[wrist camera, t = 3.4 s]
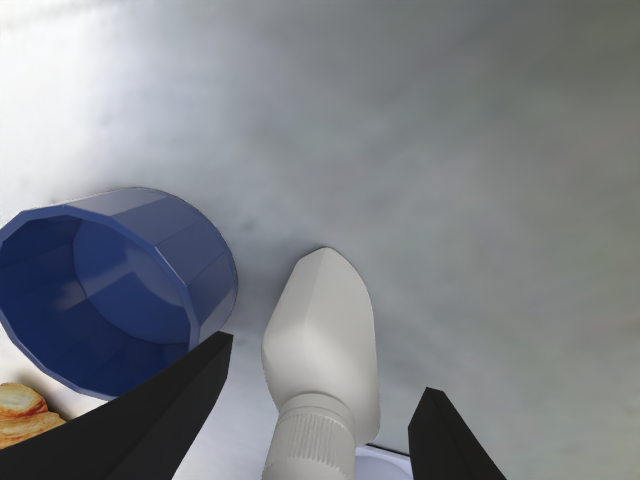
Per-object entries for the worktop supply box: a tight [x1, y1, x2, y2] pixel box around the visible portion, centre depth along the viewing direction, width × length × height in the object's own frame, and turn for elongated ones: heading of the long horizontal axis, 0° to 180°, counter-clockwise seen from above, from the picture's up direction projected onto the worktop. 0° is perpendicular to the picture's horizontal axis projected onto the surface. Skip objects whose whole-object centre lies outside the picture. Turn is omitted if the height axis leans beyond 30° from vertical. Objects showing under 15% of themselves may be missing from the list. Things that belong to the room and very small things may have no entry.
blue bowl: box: [0, 188, 237, 401], centre depth 17 cm, size 10×10×5 cm
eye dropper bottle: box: [261, 247, 380, 480], centre depth 12 cm, size 4×6×12 cm
